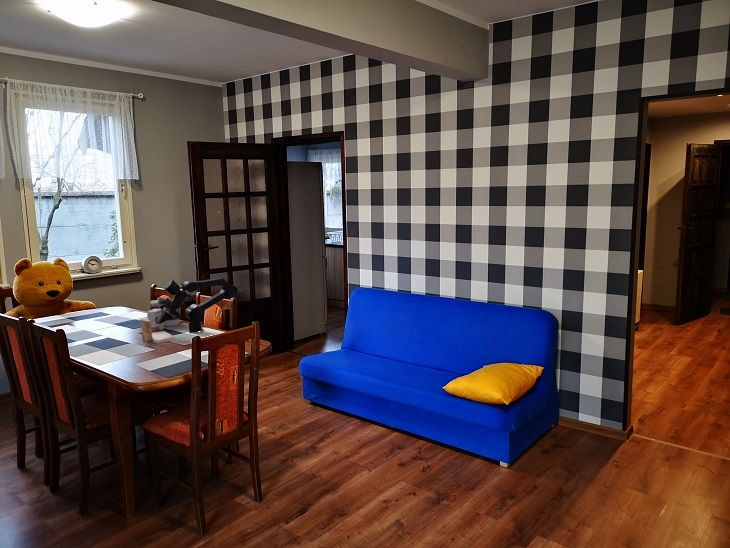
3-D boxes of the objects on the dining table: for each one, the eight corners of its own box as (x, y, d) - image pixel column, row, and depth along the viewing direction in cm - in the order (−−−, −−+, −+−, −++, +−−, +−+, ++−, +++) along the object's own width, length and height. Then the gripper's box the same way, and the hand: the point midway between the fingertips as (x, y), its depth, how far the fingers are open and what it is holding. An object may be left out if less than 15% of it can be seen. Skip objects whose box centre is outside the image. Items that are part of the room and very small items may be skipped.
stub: (148, 338, 297) (146, 318, 295) (152, 340, 291) (150, 320, 289) (142, 339, 295) (140, 319, 293) (146, 341, 289) (144, 321, 288)
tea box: (179, 321, 334) (177, 297, 331) (179, 325, 324) (177, 301, 322) (152, 324, 329) (150, 299, 327) (151, 328, 320) (149, 303, 317)
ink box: (155, 332, 310) (154, 311, 308) (148, 332, 311) (146, 311, 309) (164, 328, 318) (162, 308, 316) (156, 328, 319) (155, 308, 317)
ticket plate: (164, 333, 307) (163, 330, 307) (175, 339, 294) (174, 336, 294) (145, 336, 301) (145, 334, 300) (156, 343, 288) (155, 340, 287)
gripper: (160, 289, 304) (141, 312, 299) (172, 294, 289) (153, 317, 284) (175, 301, 310) (157, 323, 305) (188, 306, 296) (169, 330, 290)
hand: (158, 323), depth 296 cm, fingers closed
